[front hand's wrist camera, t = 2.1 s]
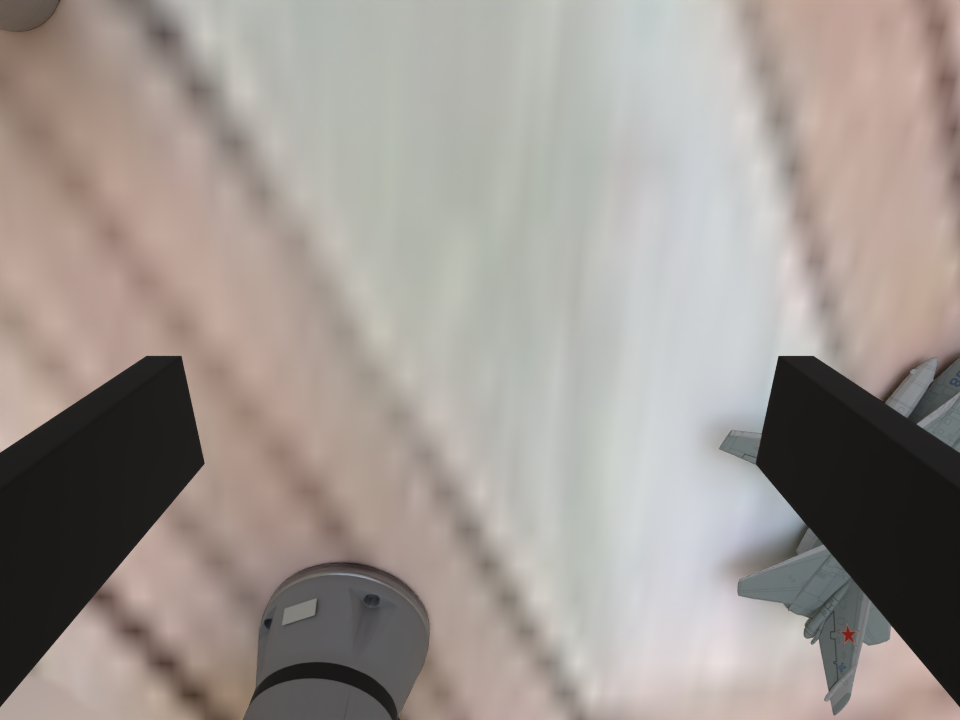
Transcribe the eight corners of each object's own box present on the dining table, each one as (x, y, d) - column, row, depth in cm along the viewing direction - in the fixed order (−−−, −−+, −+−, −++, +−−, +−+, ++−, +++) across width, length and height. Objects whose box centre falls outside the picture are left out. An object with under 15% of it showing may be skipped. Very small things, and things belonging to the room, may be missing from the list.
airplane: (1069, 579, 50) (1207, 677, 41) (717, 637, 52) (771, 744, 43) (1160, 132, 37) (1393, 126, 28) (685, 233, 39) (753, 258, 30)
